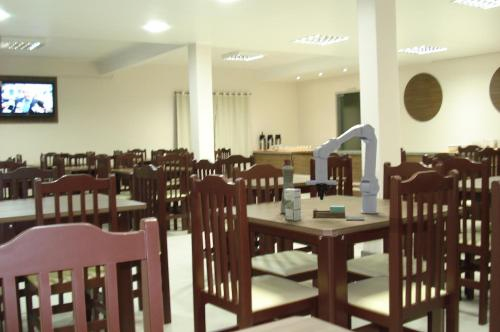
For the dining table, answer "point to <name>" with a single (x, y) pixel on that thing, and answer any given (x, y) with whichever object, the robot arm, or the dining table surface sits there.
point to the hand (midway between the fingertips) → (321, 199)
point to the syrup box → (292, 204)
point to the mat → (354, 218)
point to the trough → (326, 214)
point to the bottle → (287, 180)
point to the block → (337, 209)
